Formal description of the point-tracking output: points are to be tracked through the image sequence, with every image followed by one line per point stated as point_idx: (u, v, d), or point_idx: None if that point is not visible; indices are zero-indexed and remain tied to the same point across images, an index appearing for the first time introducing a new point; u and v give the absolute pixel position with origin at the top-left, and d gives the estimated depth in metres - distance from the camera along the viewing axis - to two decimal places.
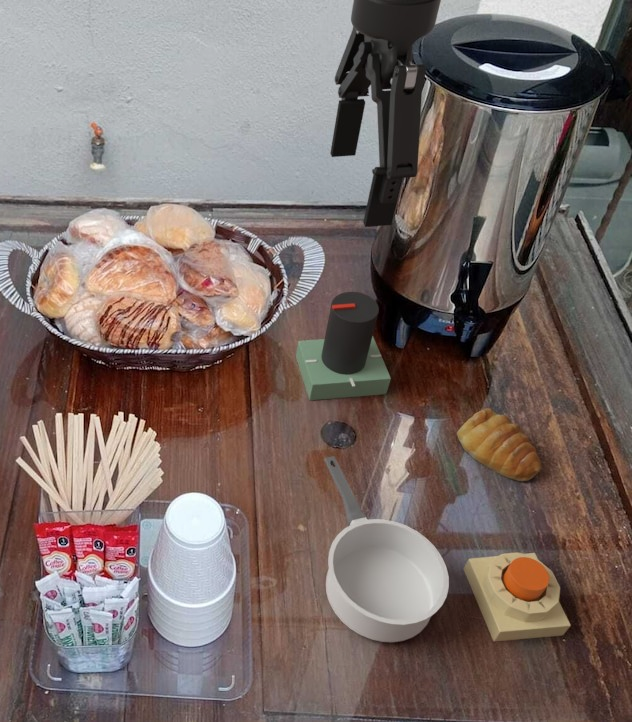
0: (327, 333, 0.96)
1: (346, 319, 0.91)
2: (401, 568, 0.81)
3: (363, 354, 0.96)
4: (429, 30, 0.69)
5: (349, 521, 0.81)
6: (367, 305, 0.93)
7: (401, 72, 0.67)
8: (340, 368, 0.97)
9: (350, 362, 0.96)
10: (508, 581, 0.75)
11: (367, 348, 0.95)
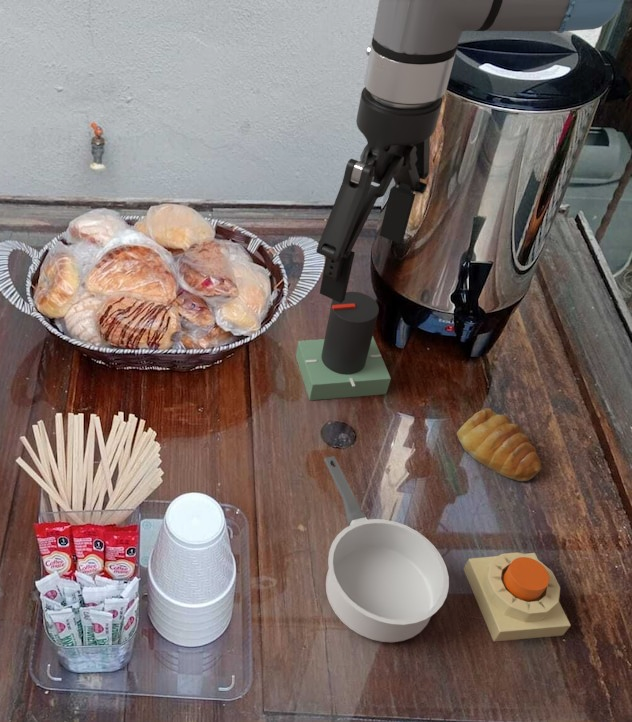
0: (327, 333, 0.96)
1: (346, 319, 0.91)
2: (401, 568, 0.81)
3: (363, 354, 0.96)
4: (405, 142, 0.73)
5: (349, 521, 0.81)
6: (367, 305, 0.93)
7: (349, 165, 0.74)
8: (340, 368, 0.97)
9: (350, 362, 0.96)
10: (508, 581, 0.75)
11: (367, 348, 0.95)
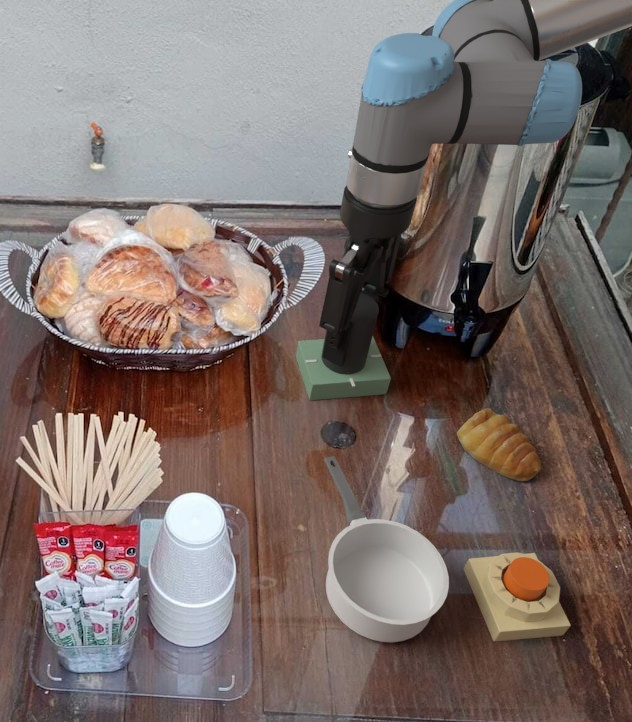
0: None
1: None
2: (401, 568, 0.81)
3: (363, 354, 0.96)
4: (383, 236, 0.81)
5: (349, 521, 0.81)
6: (367, 305, 0.93)
7: (331, 267, 0.83)
8: (340, 368, 0.97)
9: (350, 362, 0.96)
10: (508, 581, 0.75)
11: (367, 348, 0.95)
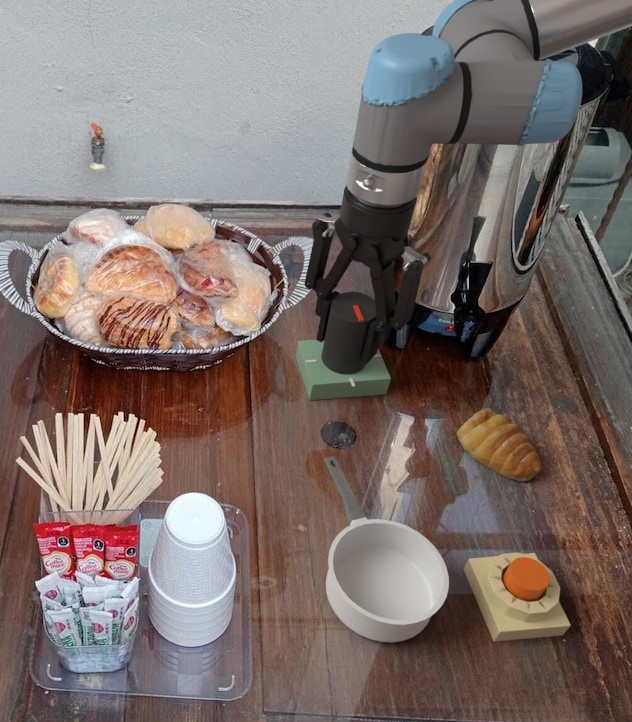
0: (356, 347, 0.94)
1: None
2: (401, 568, 0.81)
3: None
4: None
5: (349, 521, 0.81)
6: (351, 298, 0.94)
7: (421, 268, 0.82)
8: None
9: None
10: (508, 581, 0.75)
11: None
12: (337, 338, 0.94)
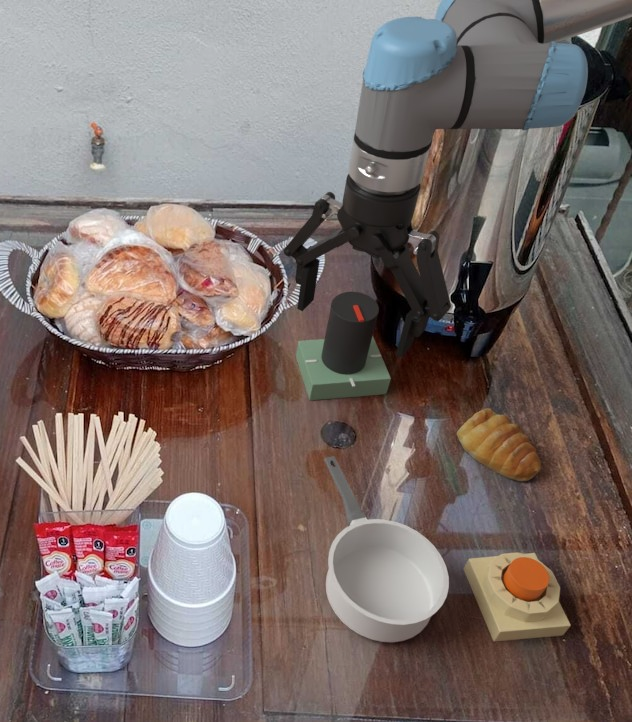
0: (356, 347, 0.94)
1: (376, 314, 0.92)
2: (401, 568, 0.81)
3: None
4: None
5: (349, 521, 0.81)
6: (351, 298, 0.94)
7: (429, 245, 0.80)
8: (366, 358, 0.98)
9: None
10: (508, 581, 0.75)
11: None
12: (337, 338, 0.94)
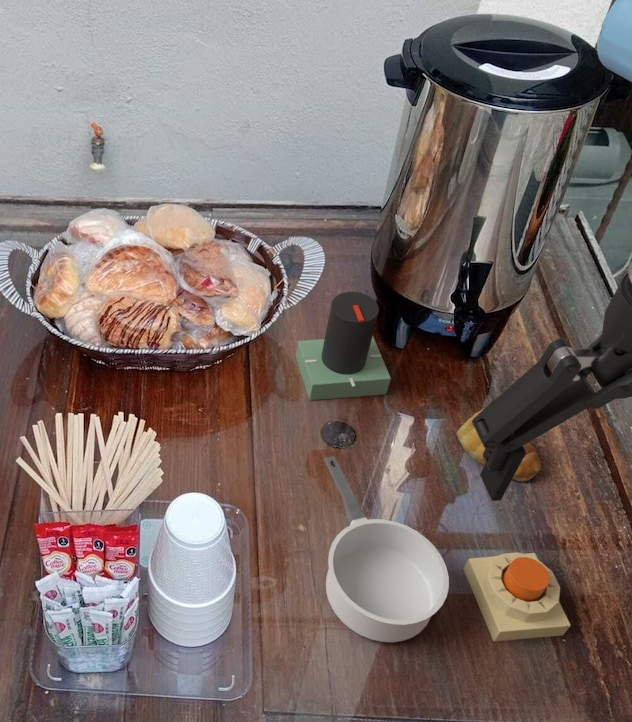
0: (356, 347, 0.94)
1: (376, 314, 0.92)
2: (401, 568, 0.81)
3: None
4: None
5: (349, 521, 0.81)
6: (351, 298, 0.94)
7: None
8: (366, 358, 0.98)
9: None
10: (508, 581, 0.75)
11: None
12: (337, 338, 0.94)
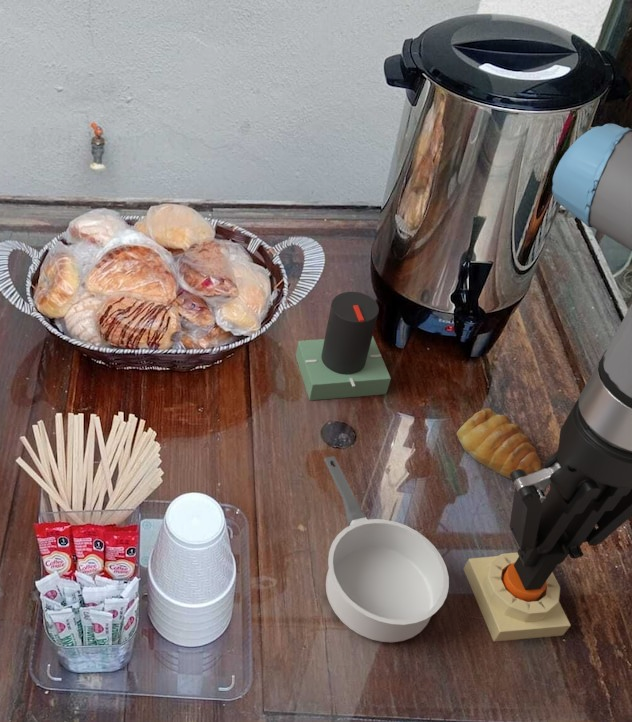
0: (356, 347, 0.94)
1: (376, 314, 0.92)
2: (401, 568, 0.81)
3: None
4: None
5: (349, 521, 0.81)
6: (351, 298, 0.94)
7: None
8: (366, 358, 0.98)
9: None
10: (505, 585, 0.76)
11: None
12: (337, 338, 0.94)
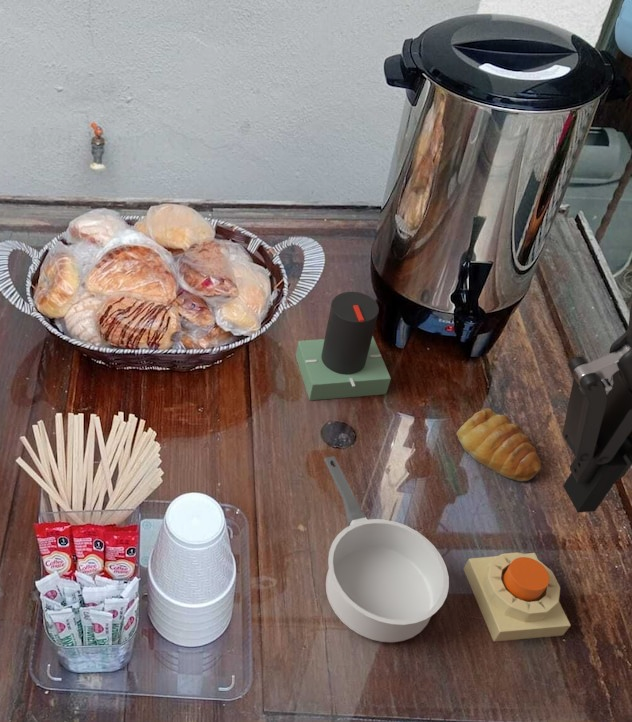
0: (356, 347, 0.94)
1: (376, 314, 0.92)
2: (401, 568, 0.81)
3: None
4: None
5: (349, 521, 0.81)
6: (351, 298, 0.94)
7: None
8: (366, 358, 0.98)
9: None
10: (508, 581, 0.75)
11: None
12: (337, 338, 0.94)
